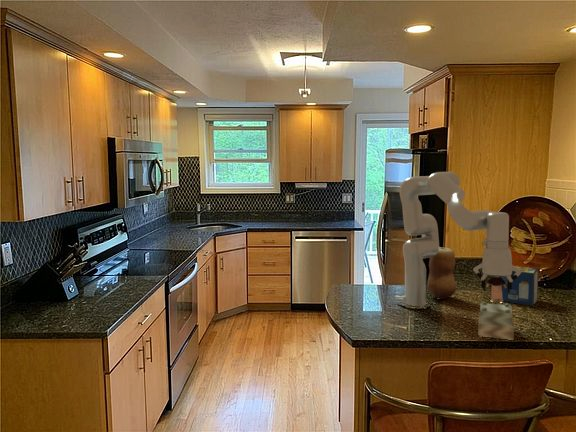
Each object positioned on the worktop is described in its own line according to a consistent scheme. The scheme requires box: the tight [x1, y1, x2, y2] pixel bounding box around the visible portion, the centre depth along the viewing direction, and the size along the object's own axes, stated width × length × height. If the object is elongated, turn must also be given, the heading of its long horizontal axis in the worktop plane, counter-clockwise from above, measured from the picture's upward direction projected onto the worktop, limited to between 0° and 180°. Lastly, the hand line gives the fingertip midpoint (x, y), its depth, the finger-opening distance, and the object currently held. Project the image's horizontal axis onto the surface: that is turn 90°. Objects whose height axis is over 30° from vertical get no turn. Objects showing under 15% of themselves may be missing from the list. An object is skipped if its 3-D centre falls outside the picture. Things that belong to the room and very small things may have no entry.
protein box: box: [499, 265, 539, 307], centre depth 215 cm, size 10×15×16 cm
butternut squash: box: [426, 246, 457, 300], centre depth 222 cm, size 14×13×25 cm
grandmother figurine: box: [486, 276, 507, 303], centre depth 173 cm, size 8×4×13 cm, turn 92°
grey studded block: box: [477, 301, 515, 341], centre depth 174 cm, size 12×12×11 cm
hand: (496, 290), depth 173 cm, fingers closed on grandmother figurine, 7 cm apart
